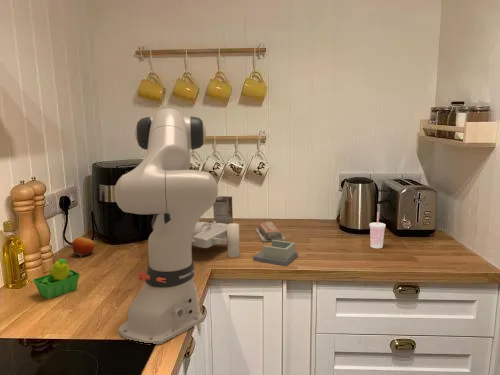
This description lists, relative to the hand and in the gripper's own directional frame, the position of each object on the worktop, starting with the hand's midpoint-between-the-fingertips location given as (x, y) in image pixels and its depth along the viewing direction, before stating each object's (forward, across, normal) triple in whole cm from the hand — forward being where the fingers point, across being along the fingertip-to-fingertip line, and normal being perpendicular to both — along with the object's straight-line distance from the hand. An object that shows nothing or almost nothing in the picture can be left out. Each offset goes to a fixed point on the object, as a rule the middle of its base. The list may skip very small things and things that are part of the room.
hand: (232, 238), depth 157 cm
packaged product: (+2, +29, +8) cm, 30 cm away
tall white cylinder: (0, 0, +7) cm, 7 cm away
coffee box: (-18, +23, +7) cm, 30 cm away
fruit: (-53, -23, +7) cm, 58 cm away
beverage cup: (+46, +33, +7) cm, 57 cm away
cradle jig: (+16, +4, +7) cm, 18 cm away
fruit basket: (-32, -51, +7) cm, 60 cm away
